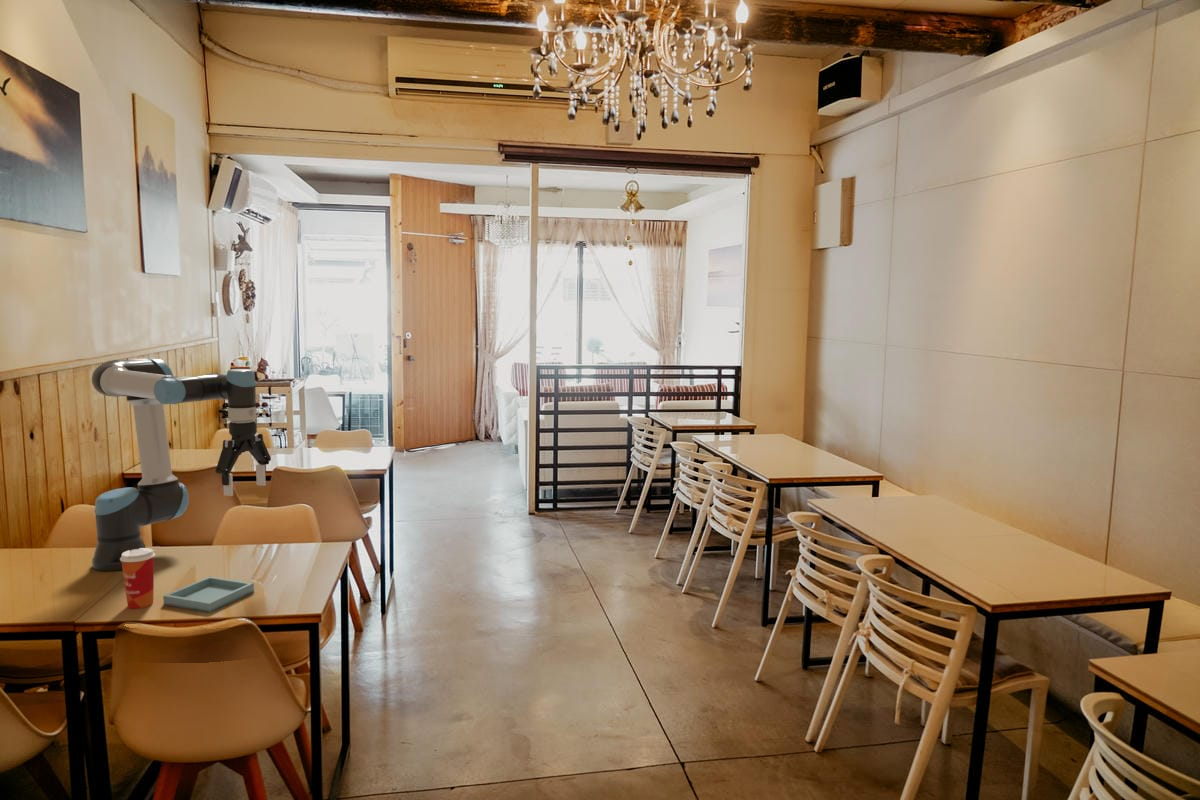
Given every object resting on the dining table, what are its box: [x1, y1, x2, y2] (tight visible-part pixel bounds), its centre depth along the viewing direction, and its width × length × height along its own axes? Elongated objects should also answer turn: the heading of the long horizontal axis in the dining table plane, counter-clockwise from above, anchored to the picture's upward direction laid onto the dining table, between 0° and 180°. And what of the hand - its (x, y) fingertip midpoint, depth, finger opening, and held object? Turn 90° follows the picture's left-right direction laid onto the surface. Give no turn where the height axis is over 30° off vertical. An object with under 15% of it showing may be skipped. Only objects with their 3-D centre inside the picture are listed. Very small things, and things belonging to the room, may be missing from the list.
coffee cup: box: [120, 547, 156, 610], centre depth 205 cm, size 8×8×15 cm
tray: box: [163, 576, 255, 614], centre depth 211 cm, size 16×16×3 cm
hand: (245, 490), depth 226 cm, fingers open, 13 cm apart
